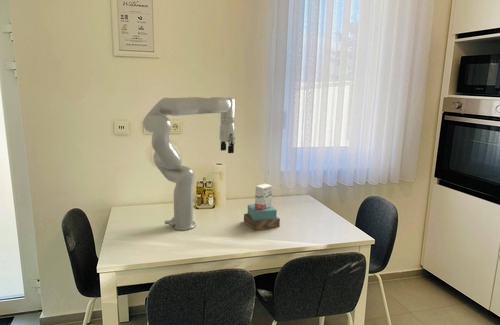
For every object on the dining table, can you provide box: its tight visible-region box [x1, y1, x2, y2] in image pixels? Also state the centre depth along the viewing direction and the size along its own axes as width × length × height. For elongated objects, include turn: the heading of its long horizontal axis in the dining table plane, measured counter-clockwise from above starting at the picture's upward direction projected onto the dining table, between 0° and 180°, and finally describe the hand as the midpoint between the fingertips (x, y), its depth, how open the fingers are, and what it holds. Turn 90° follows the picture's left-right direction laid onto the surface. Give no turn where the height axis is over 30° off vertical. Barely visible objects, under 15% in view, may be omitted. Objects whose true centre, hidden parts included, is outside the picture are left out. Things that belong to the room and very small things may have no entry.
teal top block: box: [247, 203, 278, 221], centre depth 196 cm, size 12×12×5 cm
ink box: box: [254, 183, 273, 210], centre depth 194 cm, size 9×5×12 cm, turn 140°
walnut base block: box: [243, 212, 281, 232], centre depth 197 cm, size 14×14×5 cm
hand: (227, 151), depth 205 cm, fingers open, 9 cm apart
